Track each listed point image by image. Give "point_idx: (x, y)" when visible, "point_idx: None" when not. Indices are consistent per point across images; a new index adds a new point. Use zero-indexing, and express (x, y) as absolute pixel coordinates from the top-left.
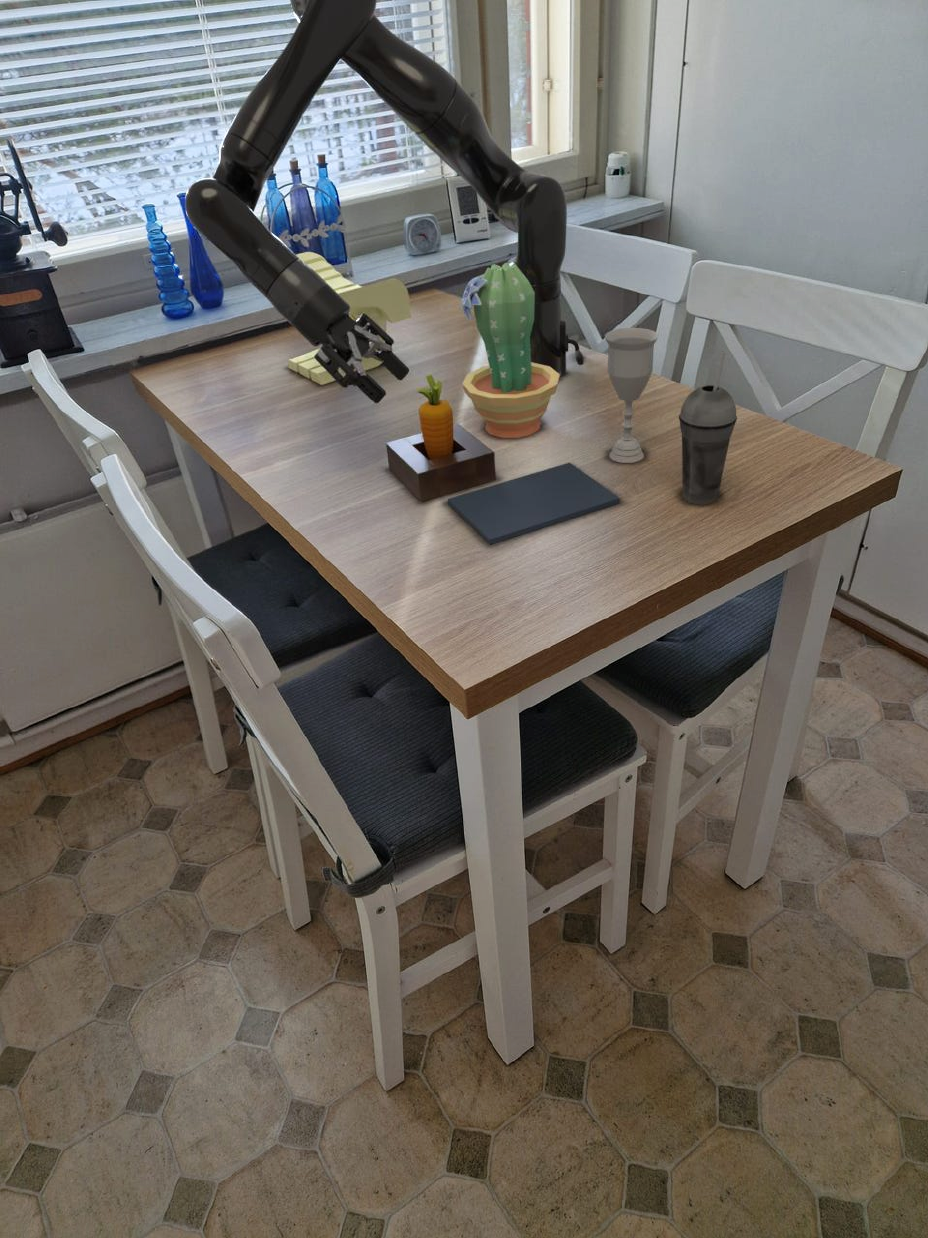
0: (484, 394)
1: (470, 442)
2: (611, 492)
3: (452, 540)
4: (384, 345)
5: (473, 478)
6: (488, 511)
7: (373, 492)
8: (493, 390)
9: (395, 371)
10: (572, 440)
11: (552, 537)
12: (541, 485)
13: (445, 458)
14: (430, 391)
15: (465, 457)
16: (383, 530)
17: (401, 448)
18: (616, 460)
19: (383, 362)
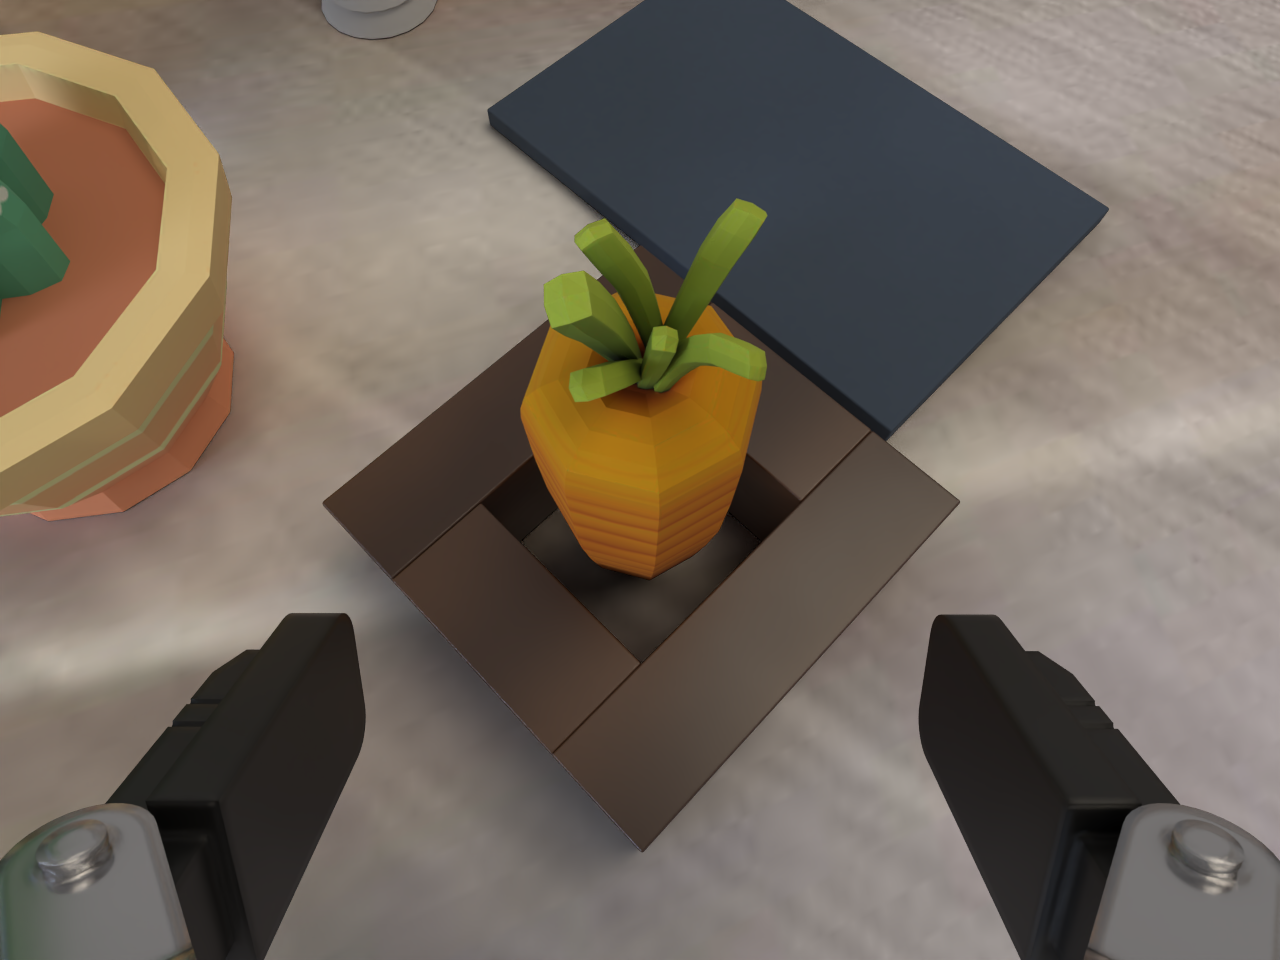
0: (155, 318)
1: None
2: None
3: (1129, 341)
4: (88, 921)
5: None
6: (930, 261)
7: (895, 832)
8: (19, 336)
9: (330, 764)
10: (258, 159)
11: (973, 80)
12: (687, 151)
13: (759, 427)
14: (664, 327)
15: None
16: (1192, 625)
17: (699, 710)
18: (427, 12)
19: (261, 933)
